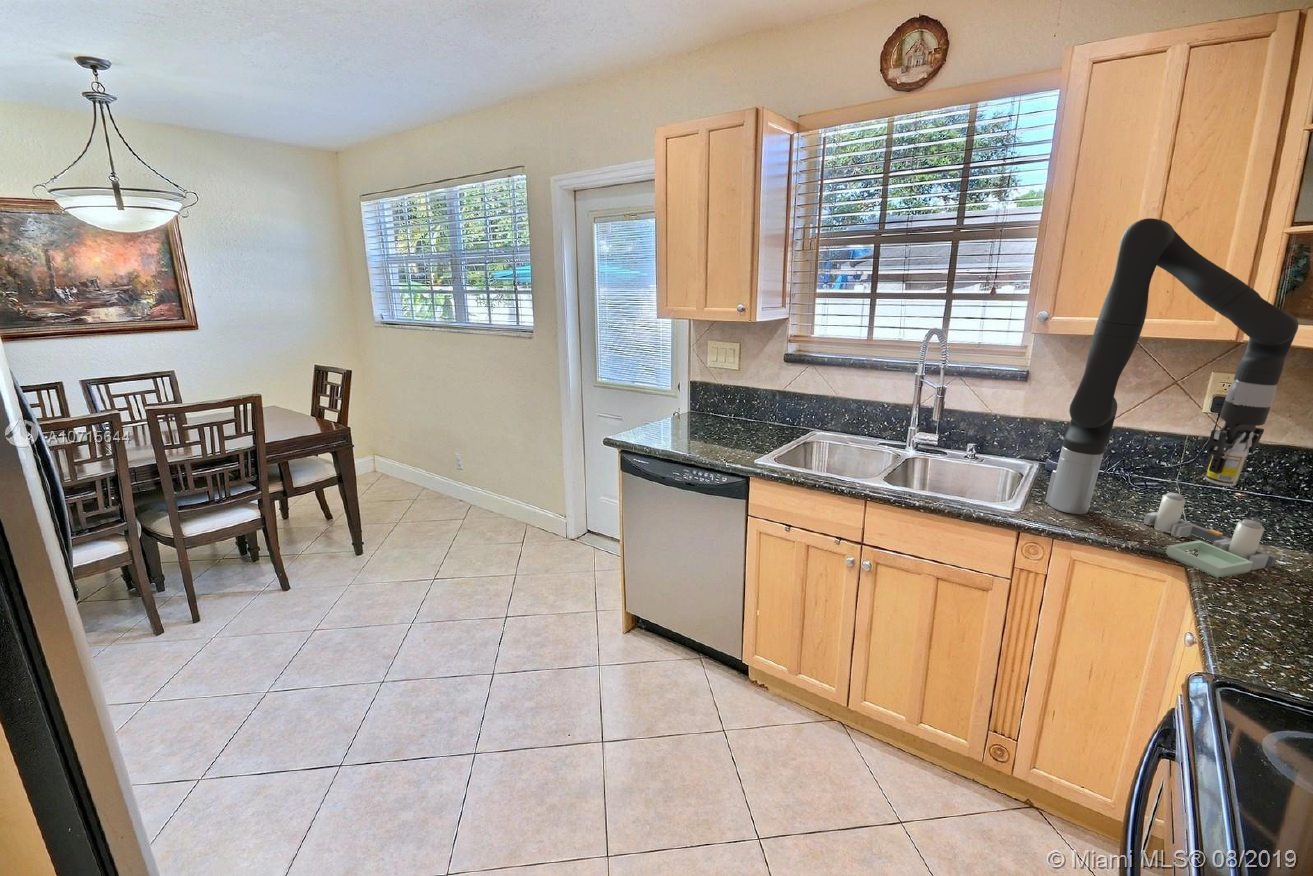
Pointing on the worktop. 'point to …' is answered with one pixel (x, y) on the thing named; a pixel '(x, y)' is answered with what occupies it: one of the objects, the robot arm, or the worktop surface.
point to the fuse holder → (1214, 540)
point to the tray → (1209, 559)
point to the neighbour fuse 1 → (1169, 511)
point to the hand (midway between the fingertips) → (1223, 470)
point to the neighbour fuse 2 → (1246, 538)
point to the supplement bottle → (1229, 467)
